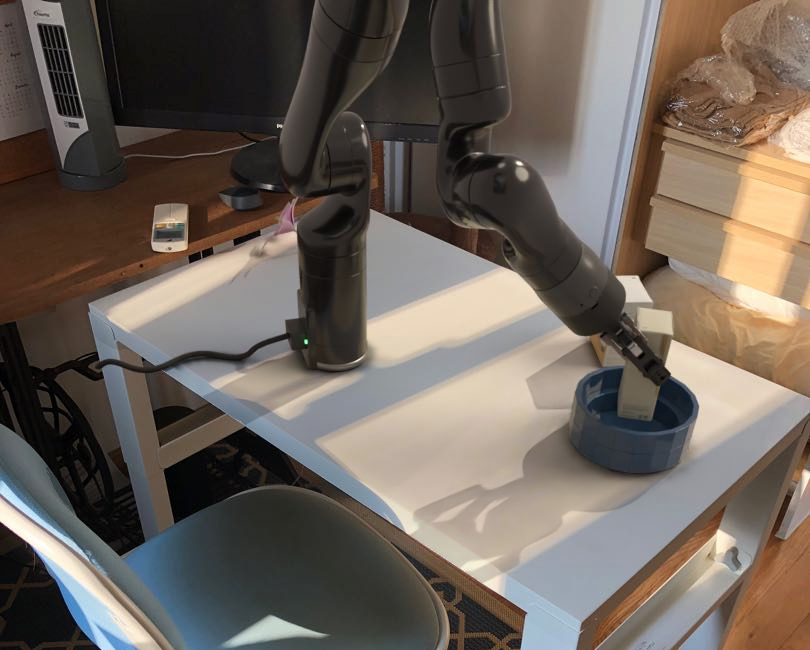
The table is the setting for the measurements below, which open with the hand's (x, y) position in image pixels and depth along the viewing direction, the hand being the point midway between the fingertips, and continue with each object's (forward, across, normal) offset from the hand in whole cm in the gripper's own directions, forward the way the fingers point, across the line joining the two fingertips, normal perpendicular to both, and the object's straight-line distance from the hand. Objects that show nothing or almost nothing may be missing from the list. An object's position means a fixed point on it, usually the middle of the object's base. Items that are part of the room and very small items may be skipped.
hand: (648, 362), depth 112 cm
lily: (-15, -66, -31) cm, 75 cm away
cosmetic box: (+4, 0, -5) cm, 7 cm away
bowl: (+8, 0, -8) cm, 12 cm away
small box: (+14, -20, -3) cm, 25 cm away
